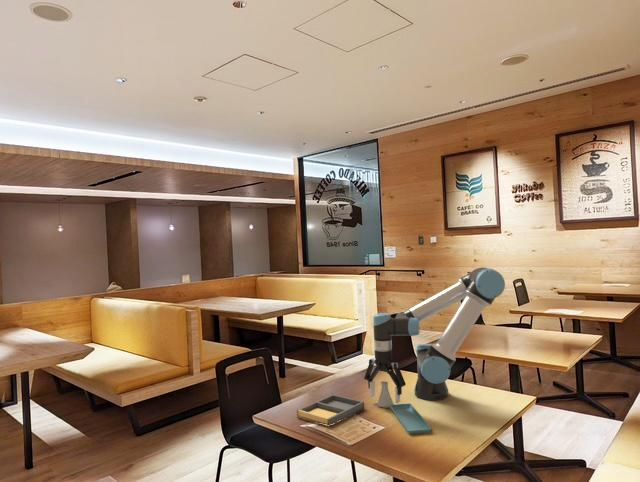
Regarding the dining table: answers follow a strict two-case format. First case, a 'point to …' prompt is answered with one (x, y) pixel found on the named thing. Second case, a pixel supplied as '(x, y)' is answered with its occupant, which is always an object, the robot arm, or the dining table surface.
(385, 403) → the flask
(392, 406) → the shallow long dish
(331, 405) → the caddy
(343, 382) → the dining table surface
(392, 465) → the dining table surface
